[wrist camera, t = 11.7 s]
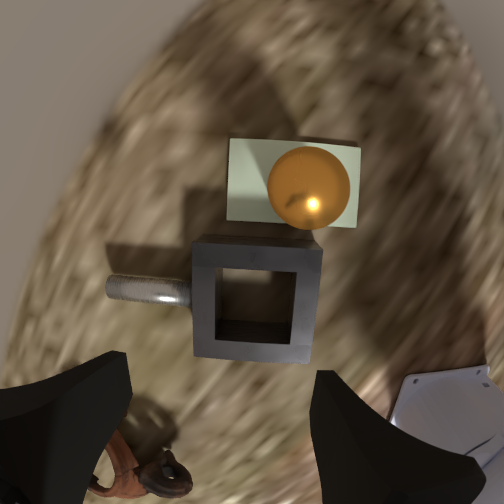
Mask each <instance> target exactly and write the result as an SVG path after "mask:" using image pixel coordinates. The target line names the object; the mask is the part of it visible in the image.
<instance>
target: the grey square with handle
mask: <svg viewBox="0 0 504 504" xmlns="http://www.w3.org/2000/svg"><path fill="white" fill-rule="evenodd" d="M322 255H323V249H322V248H321V247H320V246H319V245H318V243H317V242H316V241H315V240H300V239H283V238H265V237H247V236H227V235H207V234H203V235H202V236H200V237H199V238H198V239H196V240H195V241H194V242H192V281H181V280H168V279H156V278H144V277H133V276H122V275H110V276H109V277H108V279H107V282H106V294H107V296H108V298H110V299H117V300H126V301H134V302H143V303H152V304H161V305H171V306H182V307H192V315H193V348H194V356H196V357H205V358H216V359H227V360H239V361H254V362H272V363H300V364H309V362H310V355H311V348H312V341H313V334H314V327H315V319H316V311H317V303H318V294H319V285H320V276H321V266H322ZM223 268H231V269H248V270H266V271H284V272H292V277H291V289H290V300H289V311H288V322H287V323H267V322H250V321H235V320H222V279H223Z"/></svg>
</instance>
